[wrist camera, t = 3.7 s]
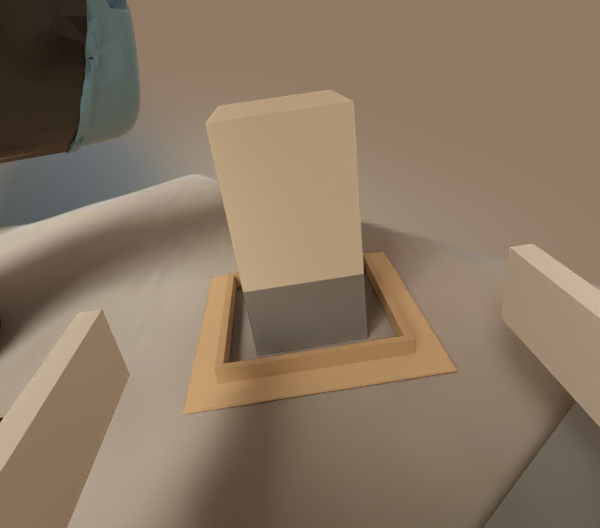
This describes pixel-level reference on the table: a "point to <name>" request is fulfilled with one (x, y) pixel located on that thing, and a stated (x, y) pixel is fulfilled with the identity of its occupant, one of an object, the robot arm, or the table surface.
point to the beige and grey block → (294, 216)
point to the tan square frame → (312, 351)
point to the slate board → (558, 480)
